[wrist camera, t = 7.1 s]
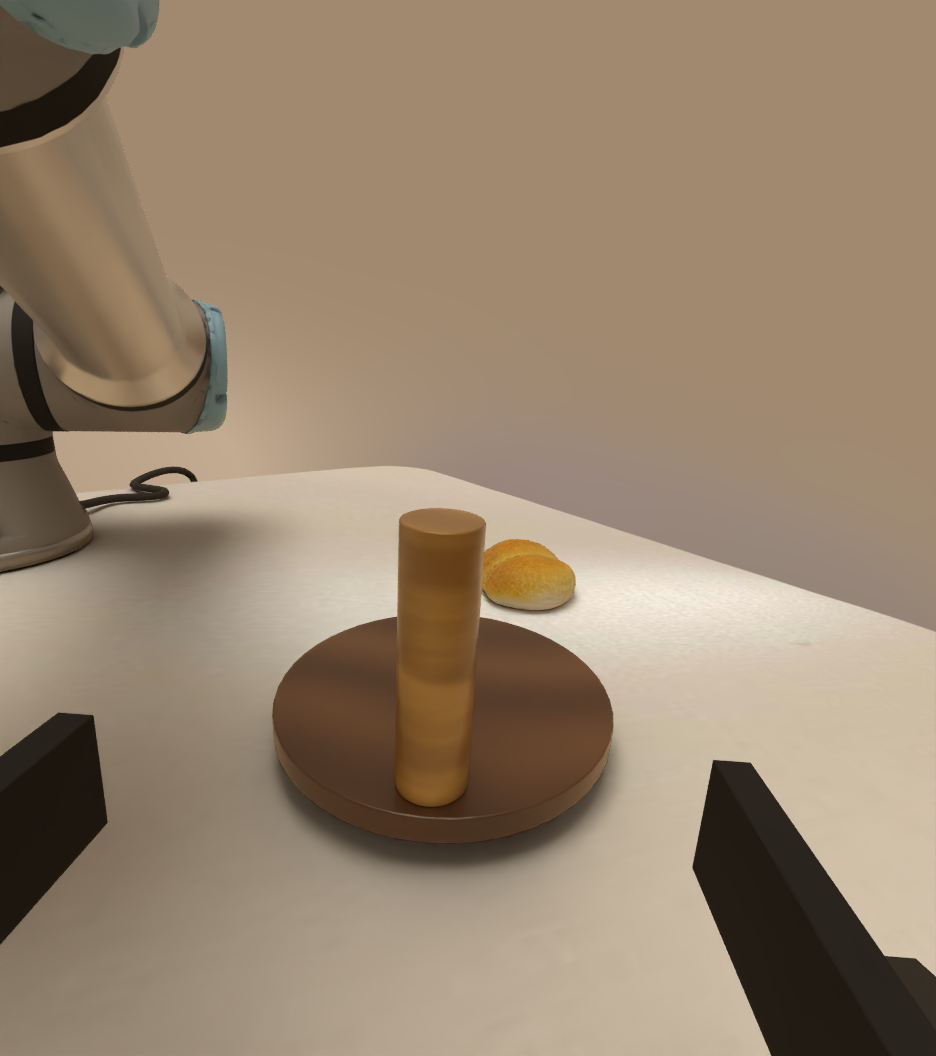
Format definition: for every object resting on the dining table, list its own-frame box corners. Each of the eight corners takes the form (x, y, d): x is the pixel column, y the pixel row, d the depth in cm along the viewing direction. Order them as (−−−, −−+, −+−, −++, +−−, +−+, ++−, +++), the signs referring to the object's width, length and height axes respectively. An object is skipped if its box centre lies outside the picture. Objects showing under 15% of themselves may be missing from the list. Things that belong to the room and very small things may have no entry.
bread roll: (497, 618, 42) (501, 570, 40) (464, 574, 50) (466, 532, 49) (594, 610, 44) (600, 563, 43) (547, 568, 52) (551, 529, 51)
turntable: (331, 620, 37) (327, 441, 33) (582, 639, 37) (606, 458, 33) (203, 824, 21) (168, 519, 17) (651, 863, 20) (713, 556, 17)
